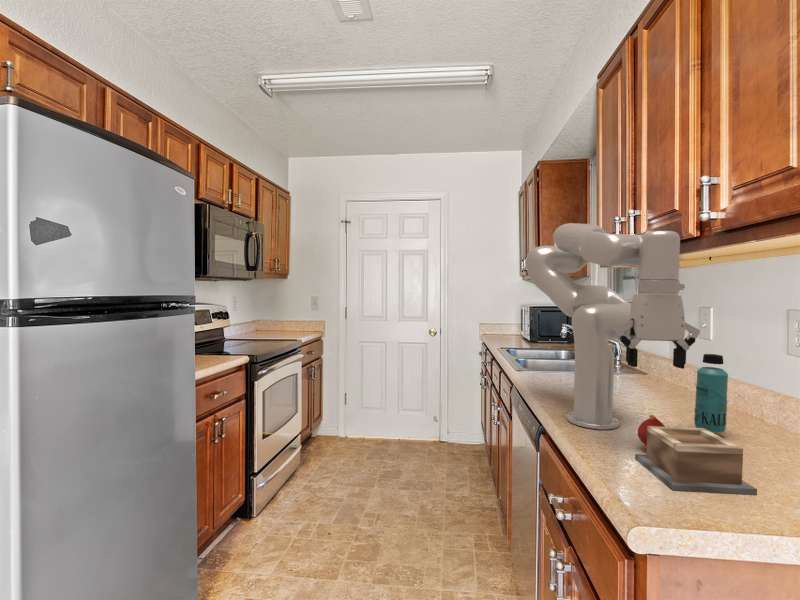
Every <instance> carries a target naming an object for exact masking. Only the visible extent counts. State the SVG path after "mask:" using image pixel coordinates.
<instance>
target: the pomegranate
mask: <svg viewBox="0 0 800 600" xmlns="http://www.w3.org/2000/svg"><path fill="white" fill-rule="evenodd" d="M647 426H662V427H666V426H665V424H663V422H662V421H660V420H659V419H658V418H657V417H656V416H655V415H654V414H650V415H649V418H647V419H645V420H644V421H642V422H641V423H640V425H639V426H638V427H637V428H638V429H637V436H638V438H639V441H640V442H641V443H642V444H643V445H644V446H645V448H647Z"/></svg>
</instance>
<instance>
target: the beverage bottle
mask: <svg viewBox="0 0 800 600" xmlns="http://www.w3.org/2000/svg"><path fill="white" fill-rule="evenodd" d="M702 363H704V364H712V365H724V356H723V355H720V354H717V353H715V354H714V353H705V354H703V355H702ZM728 379H729V373H728V372H726V371H725V370H724V369H723V368H720V367H713V366H701V367H700V368H699V369H697V371H696V385H695V393H694V394H695V402H694V403H695V404H694V405H695V407H694V418H693V419H694V420H693V422H694V426H695V427H694V428H704V429H706V430H708V431H710V432H712V433H718V434H719V433H725V432H726V429H727V425H728V424H727V420H728V419H727V415H728V413H727V412H728V384H729V383H728V381H729V380H728Z"/></svg>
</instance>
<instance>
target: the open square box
mask: <svg viewBox="0 0 800 600" xmlns="http://www.w3.org/2000/svg"><path fill="white" fill-rule="evenodd" d="M634 459H635V460H637V462H638V463H640V464H641V466H643V467H645V468H646V469H647V470H648V471H649V472H650V473H651V474H652V475H654V476H655V477H656V478H657V479H659V480H660V481H661V482H662V483H663V484H665V485H666V486H667V487H668V488H669V489H671V490H672V491H674V492H675V491H677V492H680V491H681V492H694V493H695V492H696V493H711V494H712V493H714V494H715V493H716V494H731V495H732V494H734V495H750V496H751V495H752V496H757V495H758V489H757V488H756V487H754V486H753V485H751V484H749V483H748V482H747V481H745V480H743V464H744V448H743V447H740V446H739V445H737V444H735V443H733V442H731V441H729V440H727V439H725V438H723V437H721V436H719V435H718V434H715V432H710V431H708V430H706V429H704V428H696V427H686V426H685V427H684V426H683V427H681V426H665V427H662V426H647V447H646V454H644V453H643V454H642V453H635V454H634Z"/></svg>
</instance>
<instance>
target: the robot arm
mask: <svg viewBox="0 0 800 600" xmlns="http://www.w3.org/2000/svg"><path fill="white" fill-rule="evenodd" d="M552 241H553V244H554V245H541V246H539V245H538V246H535V247H534V248H532V249H530V251H528V253H527V254H526V258H525V267H526V272H527V275H528V277H529V279H530V281H531V282H532V283H533V285H534V286H535V287H537V289H538V290H540V291H541V292H542V293H543V294H544V295H545V296H547V297H548V298H549V299H550V301H551V302H552V303H553V304H554V305H555V306H556V307H557V308H558V309H559V310H560V311H561V312H562V313H563V314H564V315H566V316H567V317H570V318H571V326H572V327H571V328H572V333H573V340H574V376H573V377H574V380H573V381H574V382H573V384H574V385H573V410H572V411H571V412H568V413H567V415H566V420H567V421H568V422H570V423H571V424H573V425H577V426H579V427H583V428H586V429H593V430H594V429H595V430H613V429H614V430H615V429H617V428H618V427H620V426H619V425H620V420H618V419H617V418H616V417H614V416H613V415H614V414H613V412H614V411H613V410H614V407H613V406H614V380H615V379H614V378H615V377H614V375H615V374H614V373H615V357H614V353H613V350H612V349H611V346H610V345H609V343H608V341H612V340H613V341H617V340H618V341H620V342H621V344H623V346H624V347H626V348H625V349H626V351H625V361H626V363H627V366H629V367H632V368H637V367H638V353H639V352H638V348H636V347H637V346H638V344H640V343H641V341H649V342H650V341H652V342H655V341H657V342H672V343H673V344H674V346H675V347H674V348H673V355H672V356H673V357H672V366H674V367H675V368H678V369H682V370H684V369H685V364H686V363H687V351H688V350H689V349H690V348H691V346H693V344H694V343H696V339H697V338H698V336H699V335H700V334H701V330H700V329H699V328H697V327H695V326H693V325H691V324H689V323H687V322H686V320H685V309H684V302H683V298H682V297H683V296H682V295H681V294H680V295H679V293H680V291H682V290H683V291H684V289H685V288H686V286H685V284H684V283H680V280H679V279H680V256H681V255H680V253H681V252H680V250H681V248H680V247H681V237H680V235H679V233H678V232H676V231H673V230H653V231H648V232H645V233H643V234H641V235H639V234H626V233H624V234H623V233H607V231H606V230H605V229H604V228H602V227H601V226H599V225H598V224H594V223H593V224H592V223H576V222H575V223H574V222H569V223H565V224H564V223H563V224H562V225H560V226H558V227H557V228H556V229H555V231H554V232H553V234H552ZM588 263H592V264H595V265H600V266H604V267H617V268H618V267H622V268H623V267H625V268H638V274H637V275H638V280H637V282H638V283H637V294H633V295H632V299H631V303H630V302H628V300H626V299H625V298H624V297H622V296H621V295H620V294H618V293H617V292H616V291H615V290H613V289H612V288H610V287H608V286H605V285H598V284H597V285H596V284H595V285H593V284H581V283H577V282H576V281H575V280H573V279H572V278H571V277H570V276H569V275H567V274H573V273H577V272H579V271H581V270H582V269H583V268H584V267H585V266H587V264H588ZM686 332H687V333H688V335H687V336H686V337H685V333H686ZM684 337H685V338H684Z"/></svg>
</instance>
